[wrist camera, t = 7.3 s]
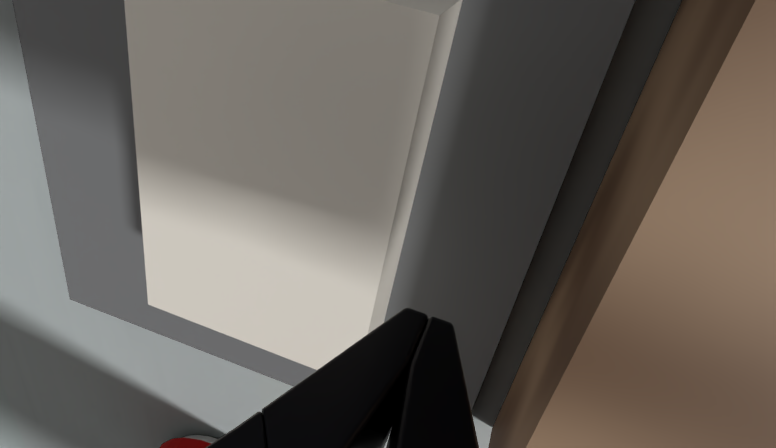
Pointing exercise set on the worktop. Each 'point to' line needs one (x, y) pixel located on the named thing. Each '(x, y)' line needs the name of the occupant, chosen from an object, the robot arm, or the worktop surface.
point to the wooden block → (671, 262)
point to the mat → (434, 190)
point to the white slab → (282, 159)
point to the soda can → (189, 442)
